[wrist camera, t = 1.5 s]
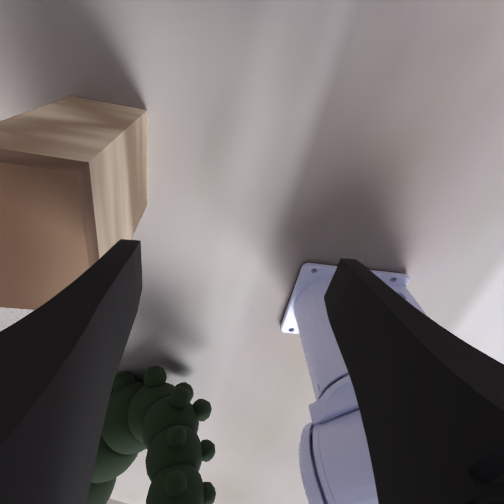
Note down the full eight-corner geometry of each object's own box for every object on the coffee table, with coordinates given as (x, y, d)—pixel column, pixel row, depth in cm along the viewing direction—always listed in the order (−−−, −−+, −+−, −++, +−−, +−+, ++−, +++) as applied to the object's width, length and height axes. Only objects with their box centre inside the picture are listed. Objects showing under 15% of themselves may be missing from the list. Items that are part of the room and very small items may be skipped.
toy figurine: (166, 316, 29) (1, 429, 34) (127, 623, 13) (-171, 748, 18) (227, 361, 34) (74, 455, 39) (252, 626, 18) (-13, 725, 23)
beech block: (147, 110, 17) (76, 173, 9) (147, 204, 20) (95, 314, 12) (71, 95, 16) (-81, 150, 8) (83, 196, 20) (-16, 305, 12)
